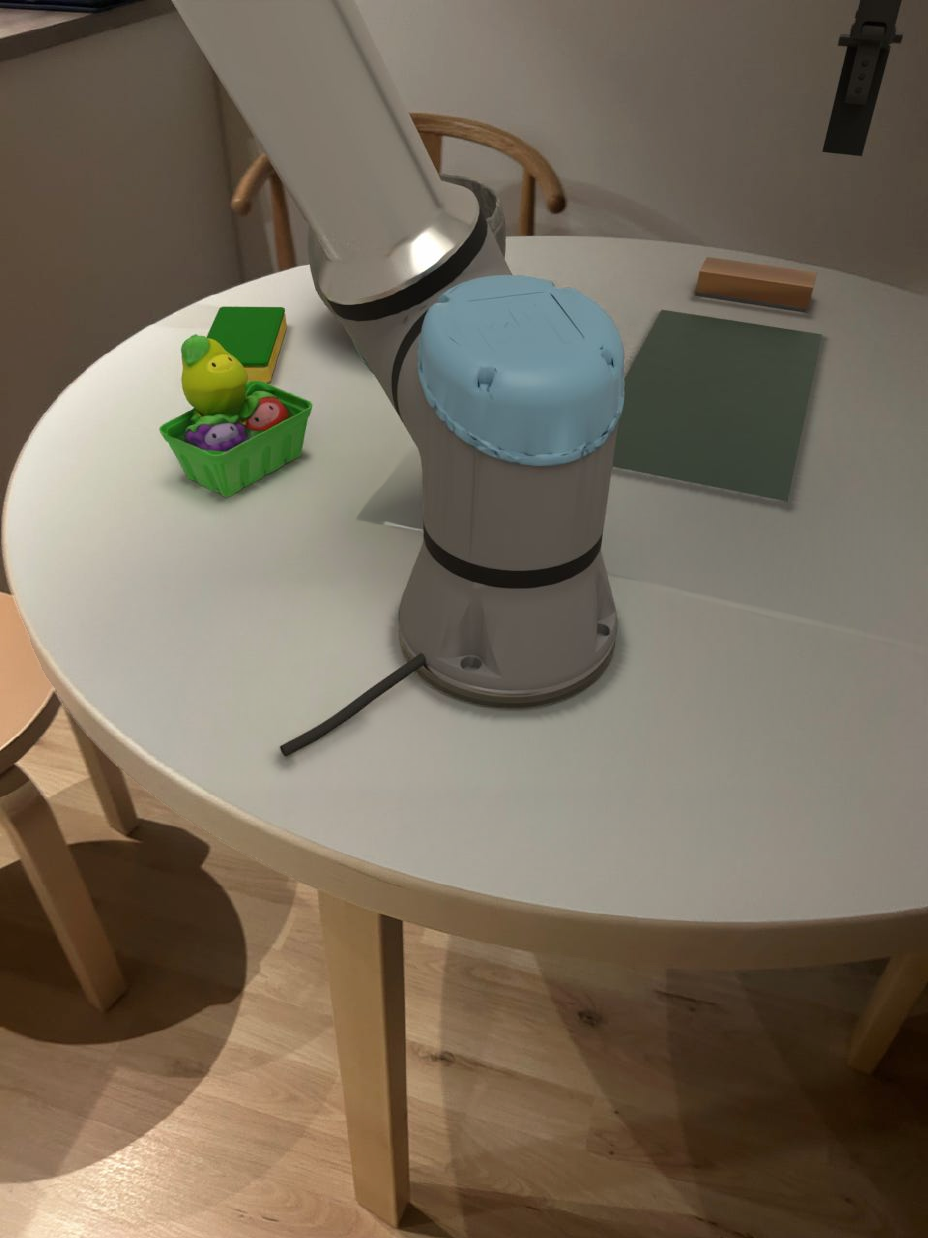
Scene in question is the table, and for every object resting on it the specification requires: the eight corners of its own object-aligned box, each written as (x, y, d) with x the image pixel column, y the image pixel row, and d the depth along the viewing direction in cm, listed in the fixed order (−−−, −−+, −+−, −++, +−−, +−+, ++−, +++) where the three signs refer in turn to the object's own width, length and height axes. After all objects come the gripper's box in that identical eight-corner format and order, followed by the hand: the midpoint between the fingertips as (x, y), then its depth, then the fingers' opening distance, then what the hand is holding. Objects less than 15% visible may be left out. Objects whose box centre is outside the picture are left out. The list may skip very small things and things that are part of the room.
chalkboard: (786, 506, 81) (787, 501, 81) (580, 464, 85) (580, 459, 85) (820, 338, 107) (822, 333, 106) (660, 313, 111) (661, 309, 111)
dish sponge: (198, 383, 96) (194, 361, 95) (223, 326, 107) (220, 305, 105) (269, 384, 96) (267, 361, 95) (287, 326, 107) (285, 305, 105)
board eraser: (805, 316, 111) (813, 287, 109) (694, 299, 115) (699, 270, 112) (810, 301, 115) (817, 272, 112) (701, 285, 118) (706, 256, 116)
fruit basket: (226, 510, 79) (203, 385, 72) (156, 475, 83) (128, 352, 76) (322, 455, 86) (310, 335, 79) (253, 424, 90) (236, 308, 83)
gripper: (1043, -325, 47) (895, 182, 62) (1024, -303, 56) (900, 134, 72) (883, -323, 49) (778, 169, 64) (890, -301, 58) (797, 124, 74)
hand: (842, 150), depth 68 cm, fingers closed
